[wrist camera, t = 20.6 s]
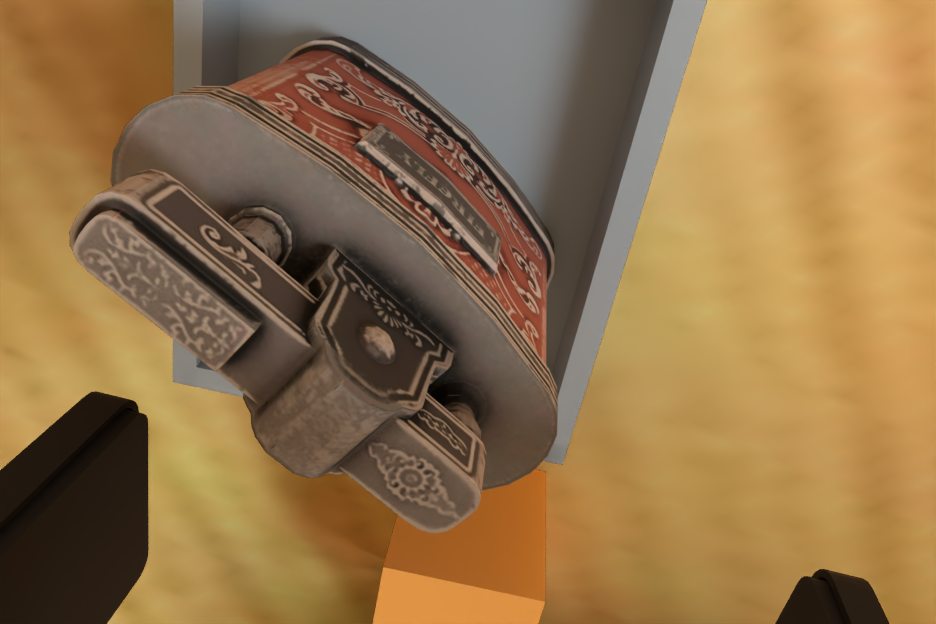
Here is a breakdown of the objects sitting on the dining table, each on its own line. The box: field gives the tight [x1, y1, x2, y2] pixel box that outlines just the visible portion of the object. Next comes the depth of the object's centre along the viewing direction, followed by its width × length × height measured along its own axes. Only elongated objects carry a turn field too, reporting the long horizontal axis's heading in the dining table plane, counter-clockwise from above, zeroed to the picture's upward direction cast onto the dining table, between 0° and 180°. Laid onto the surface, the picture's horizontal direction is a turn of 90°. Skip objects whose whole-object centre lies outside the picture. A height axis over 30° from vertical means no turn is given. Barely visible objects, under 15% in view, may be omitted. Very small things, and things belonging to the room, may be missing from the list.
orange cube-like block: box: [373, 469, 546, 624], centre depth 21 cm, size 4×5×5 cm
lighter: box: [69, 36, 558, 533], centre depth 13 cm, size 8×3×10 cm, turn 46°
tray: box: [173, 0, 707, 465], centre depth 17 cm, size 10×12×2 cm
